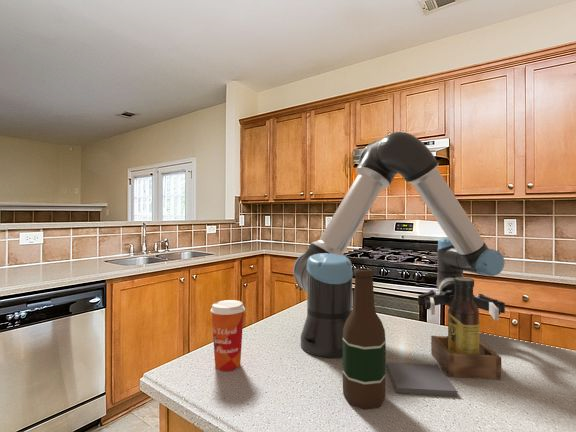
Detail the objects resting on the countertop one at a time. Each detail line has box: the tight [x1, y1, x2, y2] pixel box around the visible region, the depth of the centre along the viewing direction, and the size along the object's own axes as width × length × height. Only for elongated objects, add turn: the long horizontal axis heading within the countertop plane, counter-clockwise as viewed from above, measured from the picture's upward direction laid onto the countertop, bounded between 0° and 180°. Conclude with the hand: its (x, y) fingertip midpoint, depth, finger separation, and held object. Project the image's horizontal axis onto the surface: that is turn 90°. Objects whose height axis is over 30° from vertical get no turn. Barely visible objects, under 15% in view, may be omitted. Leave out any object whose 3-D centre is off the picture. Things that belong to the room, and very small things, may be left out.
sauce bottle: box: [447, 276, 480, 355], centre depth 74 cm, size 7×6×20 cm
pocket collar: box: [430, 335, 502, 380], centre depth 74 cm, size 10×11×4 cm
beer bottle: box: [342, 267, 387, 410], centre depth 61 cm, size 8×8×24 cm
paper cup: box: [210, 299, 246, 372], centre depth 74 cm, size 8×8×14 cm
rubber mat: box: [386, 361, 458, 397], centre depth 67 cm, size 11×11×1 cm
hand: (464, 311), depth 78 cm, fingers open, 13 cm apart
